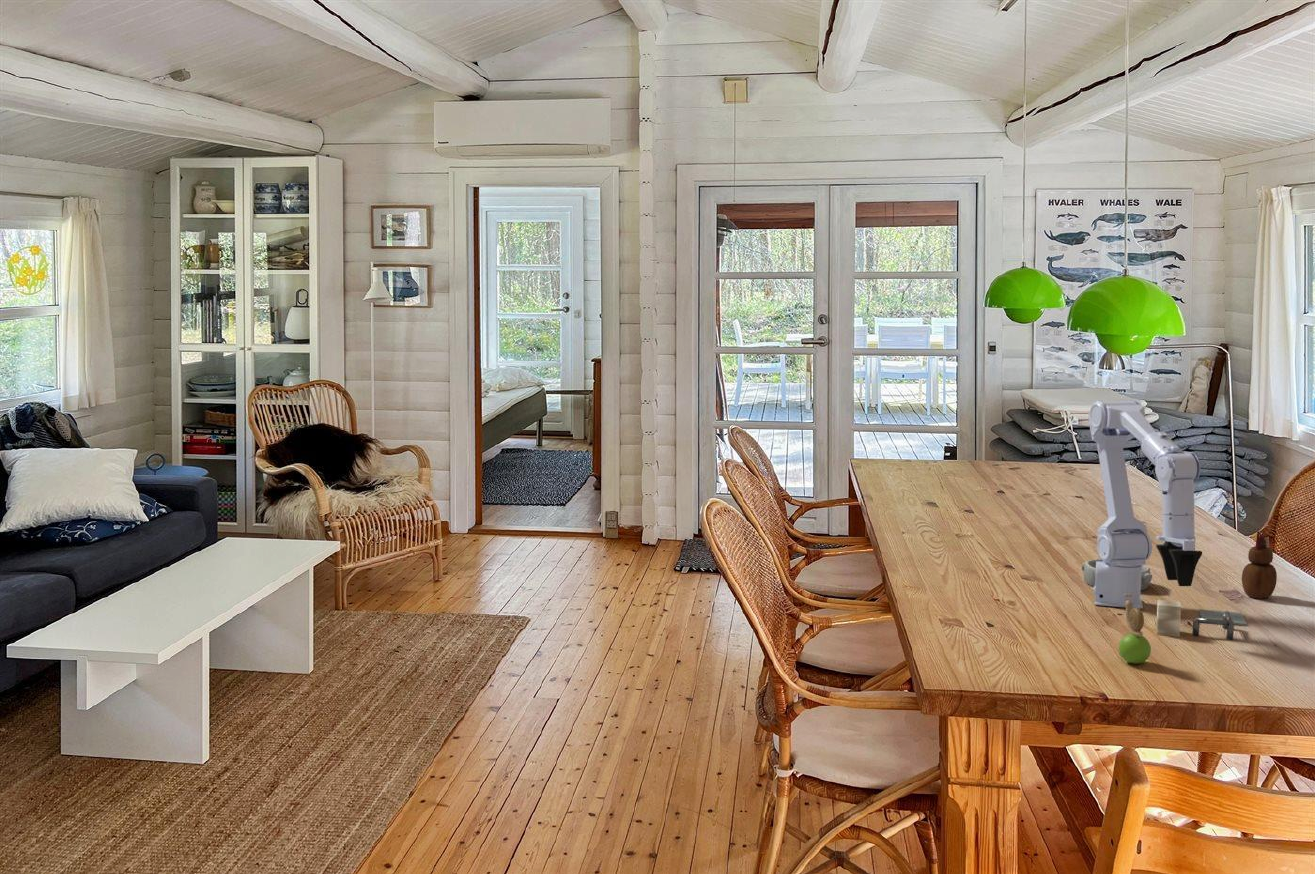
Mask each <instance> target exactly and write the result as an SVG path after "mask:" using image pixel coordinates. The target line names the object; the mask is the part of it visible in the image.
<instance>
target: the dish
mask: <svg viewBox="0 0 1315 874" xmlns="http://www.w3.org/2000/svg"><path fill="white" fill-rule="evenodd" d="M1097 561H1100V562H1103V560H1102V559H1101V558H1096V559H1095V558H1094V559H1090V560H1089V559H1088V560H1087V561H1084V562H1083V563H1082V565H1081V571H1083V579H1084V582H1085V583H1086V584H1087V585H1089V586H1091V587H1094V586H1095V578H1096V562H1097ZM1152 580H1153V574H1151V568H1150V566H1149V565H1146V564H1145V565H1142V573H1141V591H1144V590H1146V589H1147V588H1148V587H1149V585H1150V583H1151V581H1152Z"/></svg>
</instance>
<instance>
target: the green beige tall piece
mask: <svg viewBox="0 0 1315 874" xmlns="http://www.w3.org/2000/svg"><path fill="white" fill-rule="evenodd" d="M1125 596H1126V602H1125V606H1126V607H1125V620H1126V625H1127V628H1128V630H1129V631H1130V633H1128V634H1126V635H1124V636H1123V637H1121V639H1120V640H1119V643H1118V652H1119V653H1118V654H1120V657H1121V658H1122V659H1123V660H1124V661H1126V662H1128V663H1130V664H1134V665H1135V664H1137V665H1138V664H1142V663H1144V662H1145V661H1147V660H1148V659H1149V658H1150V656H1151V654H1152V653H1151V652H1152V647H1151V644H1150V642H1149V641H1148V639H1147V638H1146V637H1145V636H1143V635H1144V634H1143V631H1141V630H1142V629H1144V625H1145V617H1144V613H1143V612H1142V609H1139V608H1132V606H1133V603H1132V601H1130V600H1128V601H1127V597H1128V594H1125ZM1131 596H1132V595H1131V594H1129V597H1131Z"/></svg>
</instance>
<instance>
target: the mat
mask: <svg viewBox="0 0 1315 874" xmlns="http://www.w3.org/2000/svg"><path fill="white" fill-rule="evenodd" d="M1225 611H1226V610H1225ZM1225 611H1224V610H1215V609H1214V610H1211V609H1201V608H1198V612H1199V615H1200V618H1205V619H1217V620H1223V613H1224V612H1225ZM1228 612H1229V613H1230V616H1231V618H1232V621H1233V622H1234V626H1235V625H1236V626H1246V627H1247V622H1246V619H1245V617H1244V615H1243V613H1242V612H1237V611H1235V612H1234V611H1228Z"/></svg>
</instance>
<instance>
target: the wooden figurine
mask: <svg viewBox="0 0 1315 874" xmlns="http://www.w3.org/2000/svg"><path fill="white" fill-rule="evenodd" d="M1247 558H1248V561H1249V562H1250V563H1247V564H1246V565H1245V566H1244V568H1242V573H1241V585H1242V589H1243V591H1244V593H1245V595H1247V596H1248V597H1249V598H1253V599H1258V600H1260V599H1268V598H1270V597H1271V596H1272V595H1273V593H1274V591H1275V588H1276V586H1277V581H1278V580H1277V577H1278V576H1277V575H1278V574H1277V569H1276V567H1275V566H1274V565H1273V564H1272V562H1273V558H1274V552H1273V550H1272V549H1271V548H1270V547H1267V539H1265V536H1263V532H1260V531H1259V530H1258V531H1257V532H1256V540H1255V546H1252V547H1250V549H1249V551H1248V554H1247Z"/></svg>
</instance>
